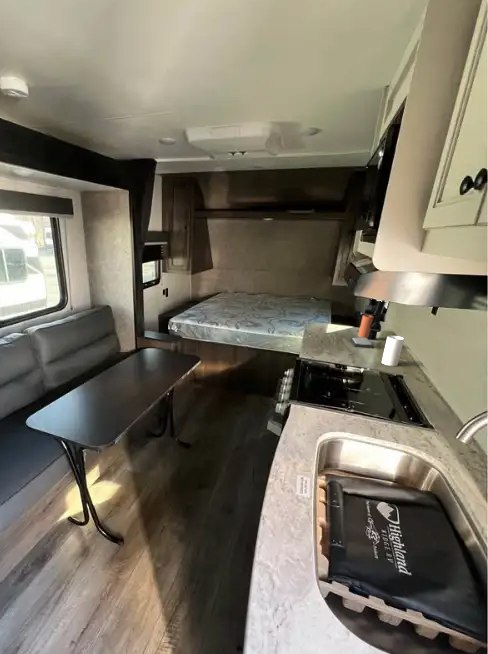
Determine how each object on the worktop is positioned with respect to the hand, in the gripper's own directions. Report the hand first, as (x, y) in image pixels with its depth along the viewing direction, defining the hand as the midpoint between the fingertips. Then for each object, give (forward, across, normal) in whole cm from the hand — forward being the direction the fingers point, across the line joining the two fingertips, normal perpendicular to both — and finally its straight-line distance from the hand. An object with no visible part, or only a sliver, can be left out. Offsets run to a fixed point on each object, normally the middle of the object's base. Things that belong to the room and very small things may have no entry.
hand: (365, 326), depth 217 cm
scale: (+5, -2, +16) cm, 17 cm away
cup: (+26, +21, -5) cm, 34 cm away
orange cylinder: (+4, 0, +6) cm, 7 cm away
